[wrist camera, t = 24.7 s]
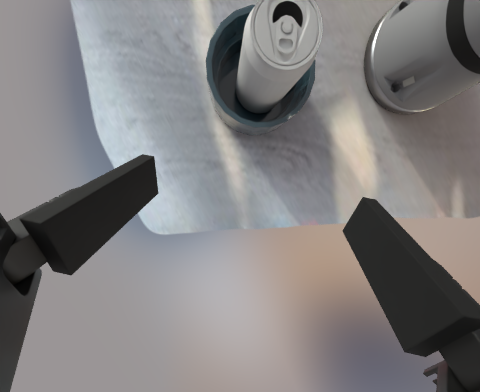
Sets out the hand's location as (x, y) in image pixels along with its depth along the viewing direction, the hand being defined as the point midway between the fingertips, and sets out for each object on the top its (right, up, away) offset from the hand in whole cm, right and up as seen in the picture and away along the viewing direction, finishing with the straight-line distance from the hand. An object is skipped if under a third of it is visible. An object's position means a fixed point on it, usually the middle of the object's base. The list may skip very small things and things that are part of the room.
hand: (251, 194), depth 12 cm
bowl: (+1, +15, +14) cm, 21 cm away
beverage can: (+2, +15, +14) cm, 20 cm away
